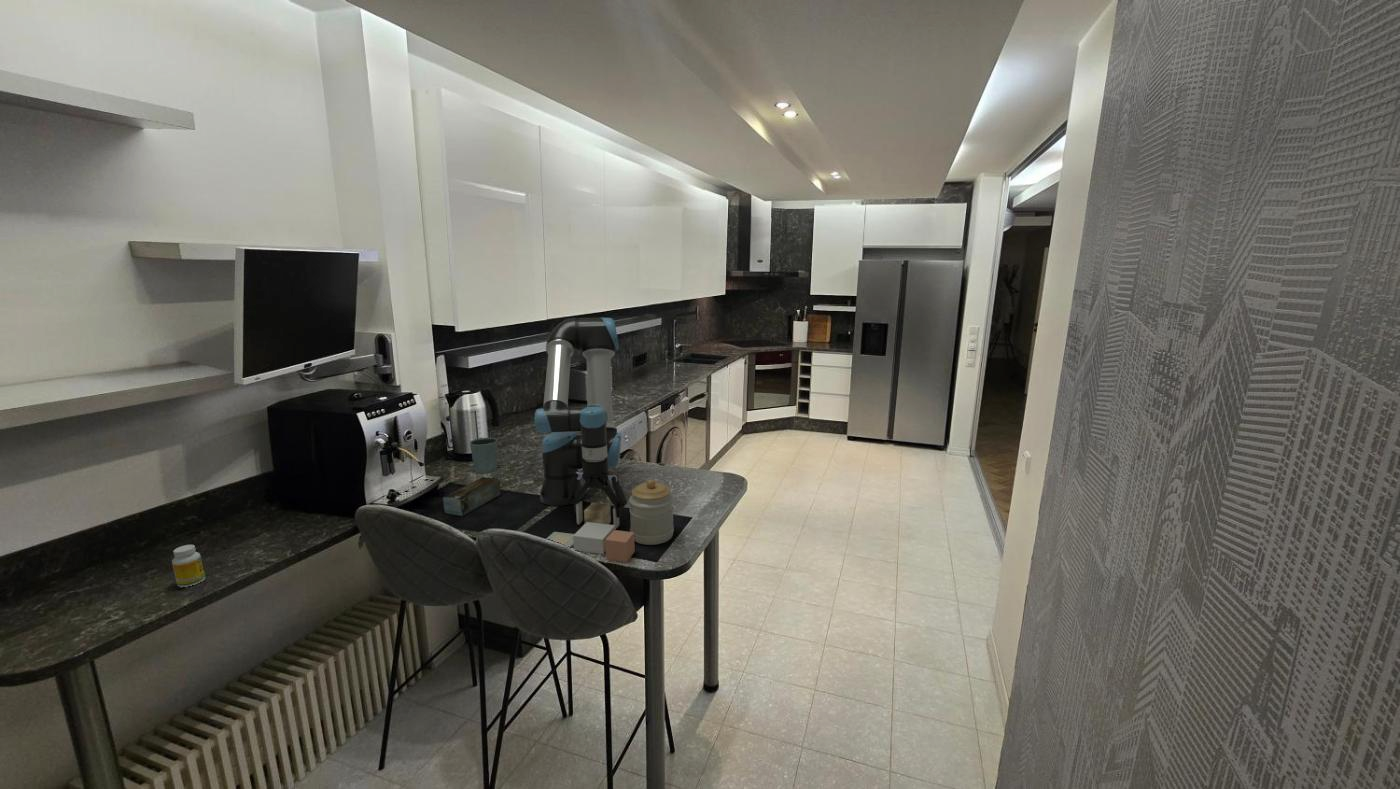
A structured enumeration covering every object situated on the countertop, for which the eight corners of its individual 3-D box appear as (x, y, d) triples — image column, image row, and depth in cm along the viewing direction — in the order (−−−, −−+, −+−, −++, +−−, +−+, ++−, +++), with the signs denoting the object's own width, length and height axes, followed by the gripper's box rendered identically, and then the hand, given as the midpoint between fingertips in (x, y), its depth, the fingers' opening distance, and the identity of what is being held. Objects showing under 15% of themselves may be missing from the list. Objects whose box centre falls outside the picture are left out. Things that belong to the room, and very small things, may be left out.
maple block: (585, 528, 170) (584, 510, 169) (593, 520, 176) (592, 502, 175) (603, 530, 169) (602, 512, 167) (610, 522, 174) (610, 504, 173)
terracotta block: (606, 559, 152) (605, 539, 150) (614, 549, 157) (614, 530, 156) (626, 562, 150) (626, 542, 149) (634, 551, 156) (634, 532, 155)
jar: (621, 538, 163) (619, 482, 160) (647, 522, 174) (646, 469, 170) (657, 550, 157) (655, 491, 153) (682, 532, 168) (681, 477, 164)
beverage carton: (443, 513, 181) (440, 494, 180) (484, 492, 199) (482, 474, 197) (462, 517, 179) (460, 498, 177) (502, 495, 196) (500, 477, 195)
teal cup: (467, 472, 217) (464, 443, 215) (483, 464, 227) (481, 436, 224) (488, 475, 215) (486, 445, 212) (505, 466, 224) (502, 438, 221)
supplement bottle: (176, 582, 141) (168, 548, 139) (204, 574, 145) (196, 541, 143) (178, 590, 138) (170, 555, 136) (207, 582, 142) (199, 547, 139)
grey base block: (573, 550, 157) (572, 535, 156) (587, 535, 165) (586, 522, 164) (603, 554, 155) (602, 539, 154) (615, 539, 163) (615, 525, 162)
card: (538, 547, 158) (538, 545, 158) (554, 533, 167) (554, 531, 167) (567, 551, 156) (567, 549, 156) (581, 536, 165) (581, 534, 164)
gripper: (553, 459, 167) (557, 525, 172) (627, 465, 161) (629, 534, 166) (564, 451, 174) (568, 515, 179) (636, 457, 168) (638, 523, 173)
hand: (598, 524), depth 172 cm, fingers open, 12 cm apart
